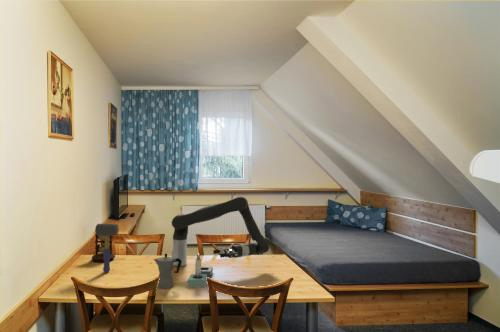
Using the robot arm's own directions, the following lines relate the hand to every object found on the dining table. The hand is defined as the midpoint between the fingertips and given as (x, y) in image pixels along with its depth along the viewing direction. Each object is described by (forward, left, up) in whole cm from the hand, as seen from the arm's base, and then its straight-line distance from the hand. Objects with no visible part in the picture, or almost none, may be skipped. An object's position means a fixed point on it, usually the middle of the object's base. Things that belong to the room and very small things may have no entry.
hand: (216, 253), depth 213 cm
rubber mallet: (-68, +4, -15) cm, 70 cm away
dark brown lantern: (-82, +29, -15) cm, 88 cm away
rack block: (-9, -10, -15) cm, 20 cm away
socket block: (-8, +5, -15) cm, 18 cm away
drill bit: (-9, -10, -15) cm, 20 cm away
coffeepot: (-25, -15, -15) cm, 33 cm away
